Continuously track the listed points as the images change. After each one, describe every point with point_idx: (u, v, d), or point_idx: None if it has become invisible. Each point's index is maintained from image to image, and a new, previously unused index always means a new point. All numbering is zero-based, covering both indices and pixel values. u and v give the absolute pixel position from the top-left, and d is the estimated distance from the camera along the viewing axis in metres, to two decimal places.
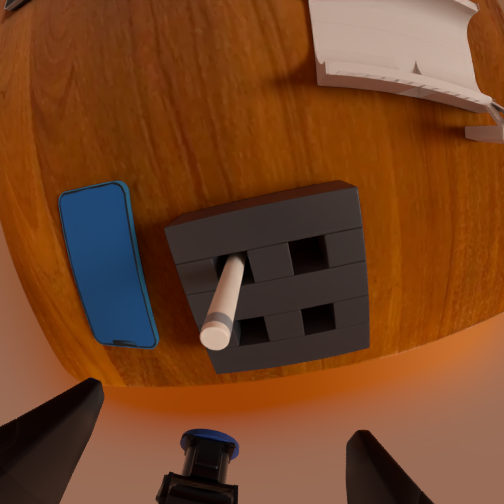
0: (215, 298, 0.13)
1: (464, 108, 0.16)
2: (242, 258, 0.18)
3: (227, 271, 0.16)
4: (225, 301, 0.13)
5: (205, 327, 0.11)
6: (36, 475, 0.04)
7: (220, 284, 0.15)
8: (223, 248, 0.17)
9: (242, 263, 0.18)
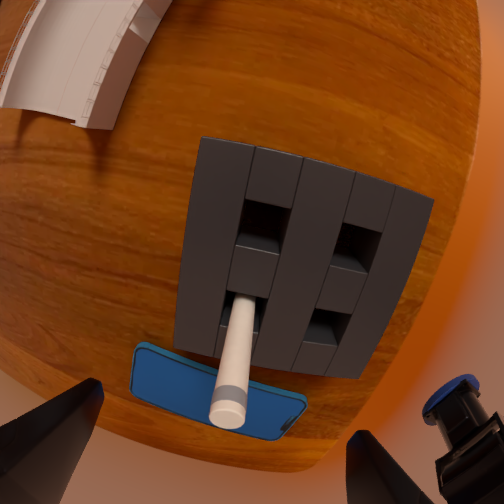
0: None
1: None
2: None
3: (228, 325, 0.13)
4: (221, 369, 0.10)
5: (209, 418, 0.08)
6: (36, 475, 0.04)
7: None
8: (214, 310, 0.15)
9: (242, 298, 0.15)
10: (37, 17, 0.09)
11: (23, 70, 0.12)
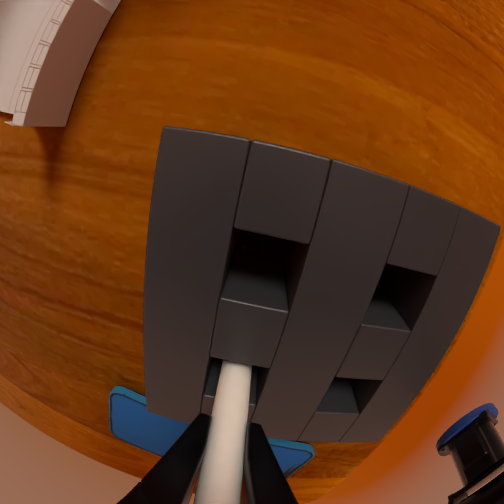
0: None
1: None
2: None
3: None
4: (199, 492, 0.05)
5: None
6: None
7: None
8: (194, 378, 0.10)
9: (233, 364, 0.10)
10: None
11: None
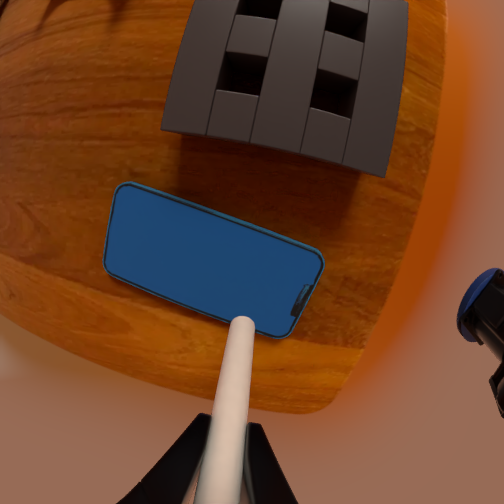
0: None
1: None
2: (233, 353, 0.11)
3: None
4: (199, 492, 0.05)
5: None
6: None
7: None
8: (211, 72, 0.12)
9: (233, 364, 0.10)
10: None
11: None
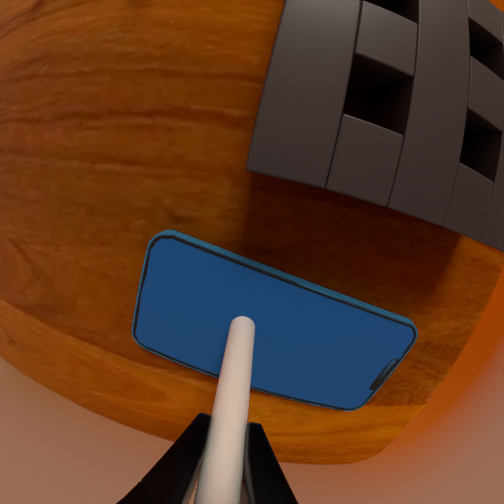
0: None
1: None
2: (233, 353, 0.11)
3: None
4: (199, 492, 0.05)
5: None
6: None
7: None
8: (335, 83, 0.07)
9: (233, 364, 0.10)
10: None
11: None
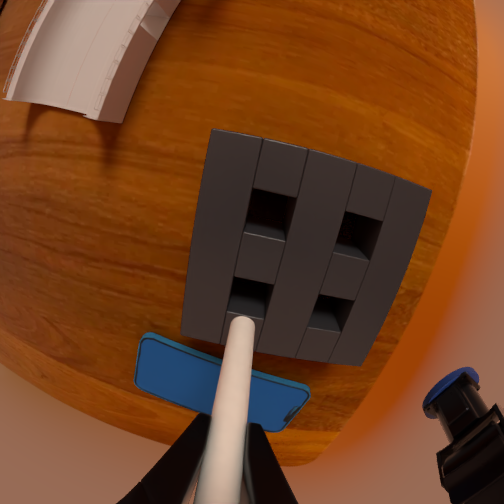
0: None
1: None
2: (233, 353, 0.11)
3: None
4: (198, 492, 0.05)
5: None
6: None
7: None
8: (221, 296, 0.15)
9: (233, 364, 0.10)
10: (47, 13, 0.10)
11: (33, 65, 0.12)
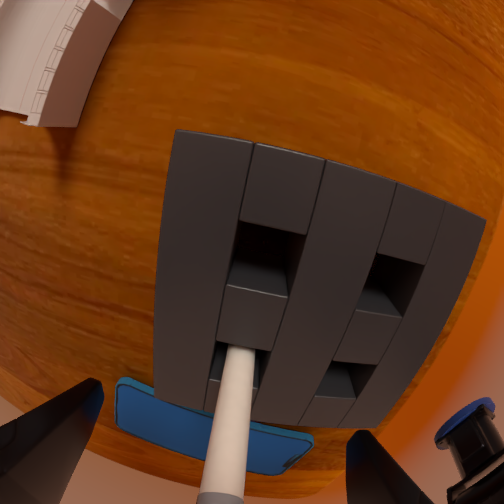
0: None
1: None
2: None
3: (219, 389, 0.09)
4: (208, 464, 0.06)
5: None
6: (36, 475, 0.04)
7: None
8: (200, 362, 0.11)
9: (238, 349, 0.11)
10: (3, 4, 0.05)
11: None
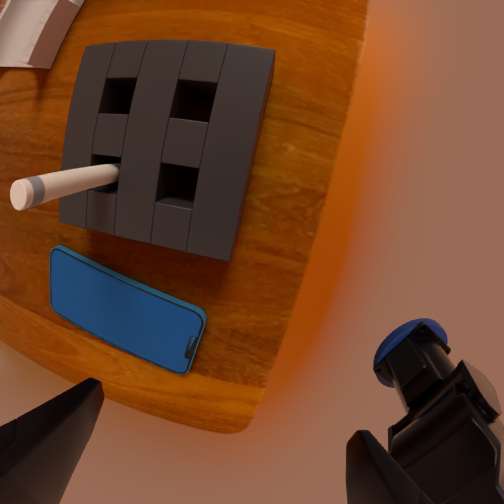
0: None
1: None
2: None
3: None
4: None
5: (11, 199, 0.08)
6: (36, 475, 0.04)
7: None
8: None
9: (106, 164, 0.15)
10: (11, 0, 0.09)
11: None
